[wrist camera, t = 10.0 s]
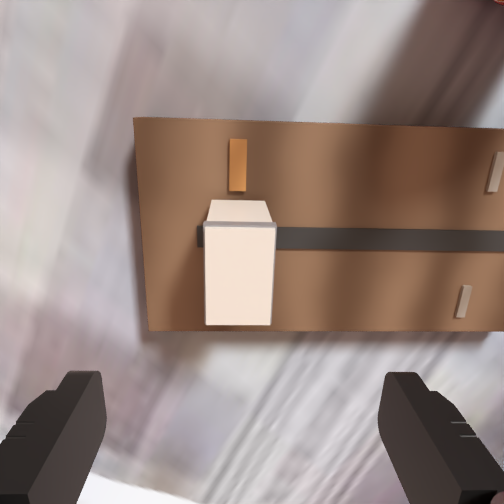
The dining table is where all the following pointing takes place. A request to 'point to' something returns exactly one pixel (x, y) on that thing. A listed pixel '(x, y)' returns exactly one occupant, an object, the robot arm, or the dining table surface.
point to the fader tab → (238, 263)
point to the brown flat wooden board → (331, 221)
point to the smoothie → (499, 2)
